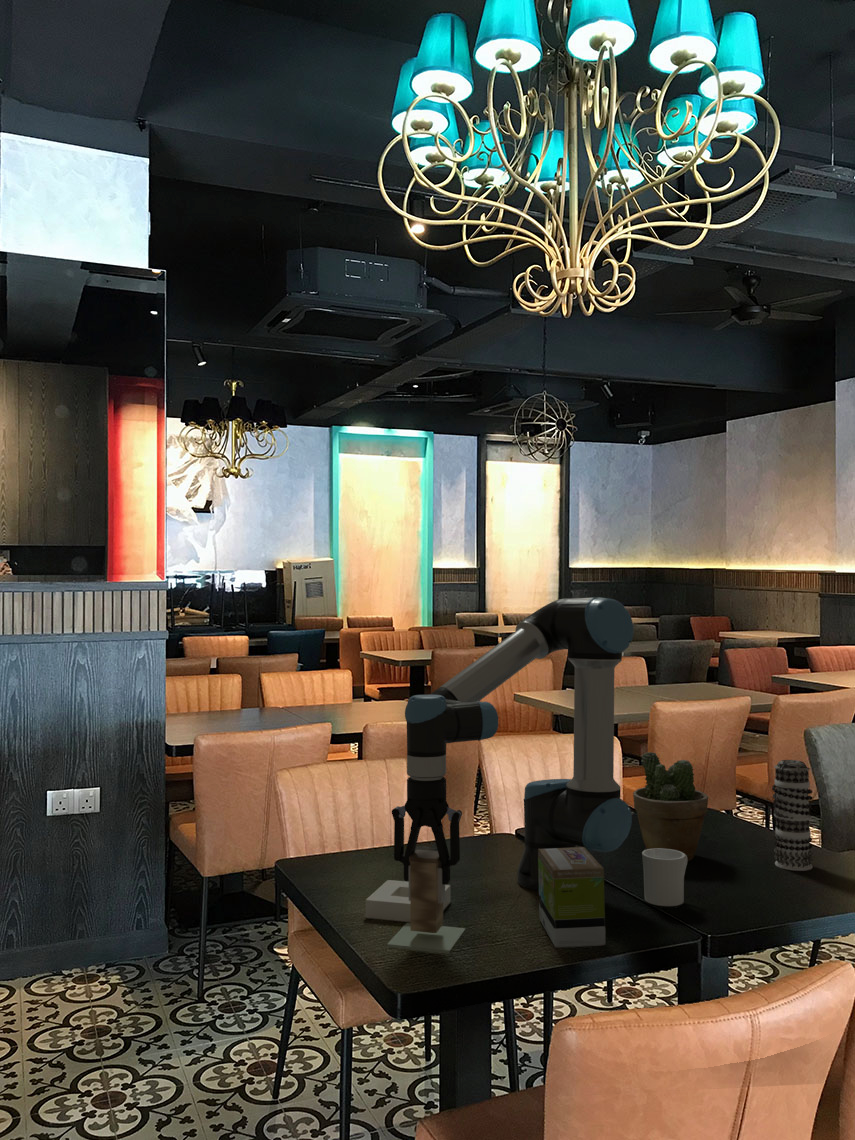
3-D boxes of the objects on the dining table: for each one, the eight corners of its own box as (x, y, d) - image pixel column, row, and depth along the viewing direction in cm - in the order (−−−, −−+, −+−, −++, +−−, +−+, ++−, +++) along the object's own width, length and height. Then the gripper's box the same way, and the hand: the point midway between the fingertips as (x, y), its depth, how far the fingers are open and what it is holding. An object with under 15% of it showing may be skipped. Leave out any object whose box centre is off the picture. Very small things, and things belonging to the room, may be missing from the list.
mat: (465, 931, 182) (465, 928, 182) (449, 953, 171) (449, 950, 171) (406, 925, 186) (406, 922, 186) (387, 947, 174) (387, 944, 174)
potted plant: (718, 852, 238) (716, 753, 239) (696, 870, 222) (695, 764, 223) (648, 843, 248) (647, 748, 249) (622, 859, 232) (621, 758, 233)
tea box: (537, 921, 188) (536, 846, 189) (586, 919, 189) (585, 845, 190) (553, 948, 173) (553, 868, 174) (607, 946, 174) (606, 866, 175)
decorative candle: (772, 869, 223) (770, 763, 224) (773, 859, 232) (772, 757, 233) (813, 873, 220) (812, 765, 221) (813, 862, 229) (811, 759, 229)
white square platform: (450, 904, 199) (450, 885, 199) (432, 926, 185) (432, 905, 185) (387, 898, 203) (387, 879, 203) (365, 919, 189) (365, 899, 189)
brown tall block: (444, 924, 180) (444, 851, 181) (436, 933, 175) (436, 859, 175) (417, 921, 182) (417, 849, 182) (409, 931, 176) (409, 856, 177)
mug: (662, 912, 193) (661, 861, 193) (633, 900, 201) (633, 851, 201) (702, 904, 198) (701, 854, 198) (672, 892, 206) (672, 845, 206)
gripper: (477, 775, 180) (477, 897, 180) (388, 771, 185) (388, 890, 185) (467, 782, 173) (468, 910, 172) (375, 777, 178) (375, 901, 177)
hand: (426, 899), depth 178 cm, fingers closed on brown tall block, 5 cm apart
